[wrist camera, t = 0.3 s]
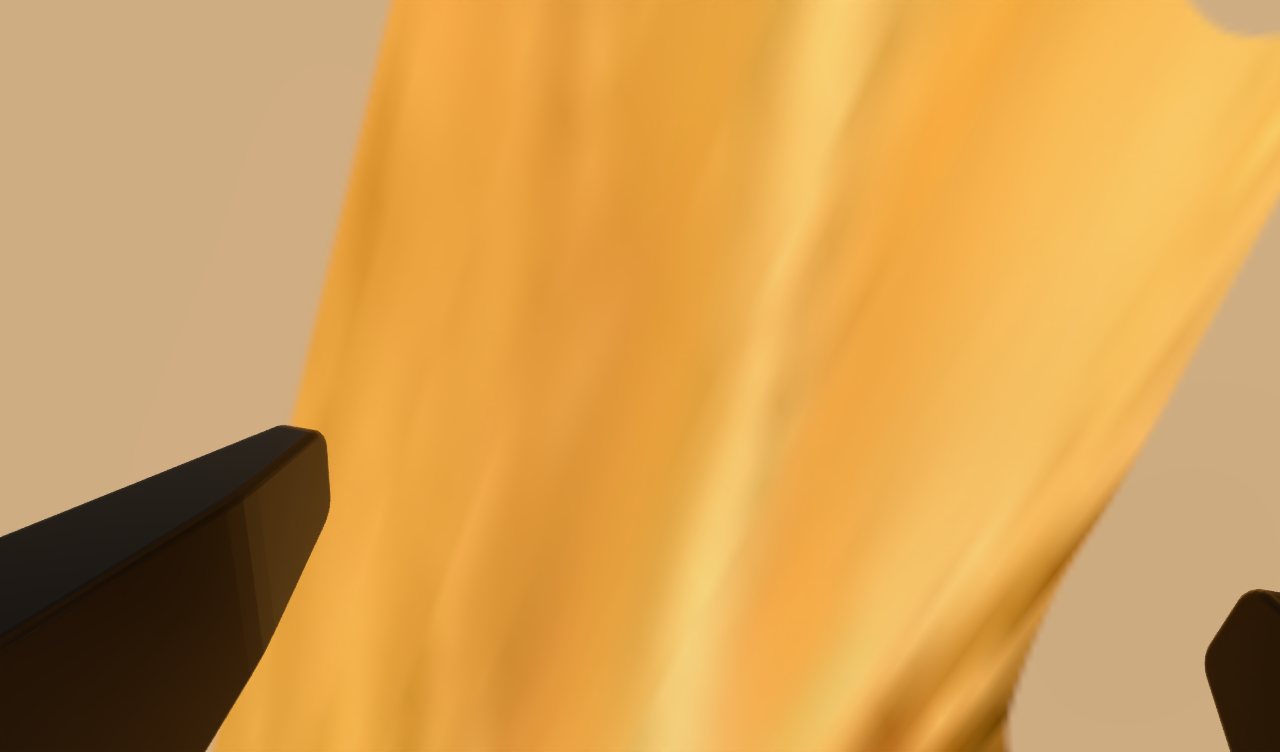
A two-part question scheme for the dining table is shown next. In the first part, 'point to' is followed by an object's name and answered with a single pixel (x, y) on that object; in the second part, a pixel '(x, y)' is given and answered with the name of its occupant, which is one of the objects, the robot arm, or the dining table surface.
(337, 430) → the dining table surface
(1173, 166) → the dining table surface
